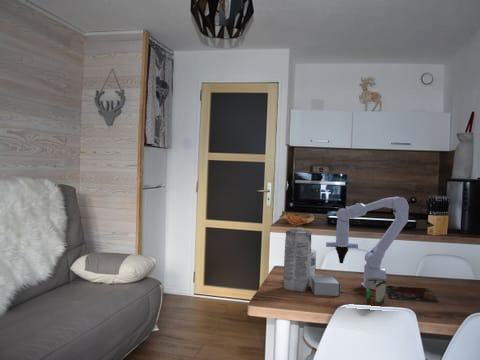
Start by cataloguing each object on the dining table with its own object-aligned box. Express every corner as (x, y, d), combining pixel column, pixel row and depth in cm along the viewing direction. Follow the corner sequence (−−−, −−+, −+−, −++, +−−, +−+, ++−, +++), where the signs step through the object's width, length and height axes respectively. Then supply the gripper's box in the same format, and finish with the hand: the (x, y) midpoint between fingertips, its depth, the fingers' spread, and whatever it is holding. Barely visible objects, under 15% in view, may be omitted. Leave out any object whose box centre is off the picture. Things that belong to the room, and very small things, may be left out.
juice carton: (305, 293, 174) (307, 229, 174) (281, 289, 178) (284, 227, 178) (310, 288, 182) (313, 227, 182) (287, 285, 186) (290, 225, 186)
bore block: (333, 287, 186) (333, 275, 186) (339, 296, 172) (340, 283, 172) (310, 286, 187) (310, 274, 187) (314, 294, 173) (315, 282, 173)
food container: (370, 300, 168) (371, 276, 168) (385, 304, 164) (387, 279, 164) (358, 307, 158) (359, 281, 158) (374, 310, 154) (375, 284, 154)
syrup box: (309, 282, 194) (311, 251, 194) (298, 280, 197) (300, 249, 197) (315, 280, 198) (316, 250, 198) (304, 278, 202) (305, 248, 202)
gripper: (328, 234, 189) (327, 263, 189) (360, 235, 189) (358, 265, 189) (325, 232, 196) (324, 260, 196) (356, 233, 196) (355, 262, 196)
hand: (341, 262), depth 193 cm, fingers closed
